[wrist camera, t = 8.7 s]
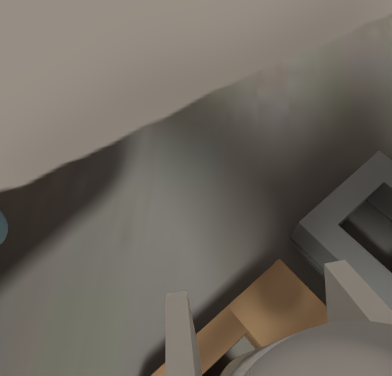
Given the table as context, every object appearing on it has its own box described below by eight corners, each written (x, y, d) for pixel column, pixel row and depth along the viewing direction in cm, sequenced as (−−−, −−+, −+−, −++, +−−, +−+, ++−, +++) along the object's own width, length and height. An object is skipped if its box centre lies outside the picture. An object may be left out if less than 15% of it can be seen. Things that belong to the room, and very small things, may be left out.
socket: (290, 237, 42) (298, 222, 38) (363, 171, 45) (379, 150, 41) (383, 328, 37) (405, 323, 33) (458, 247, 40) (488, 233, 36)
